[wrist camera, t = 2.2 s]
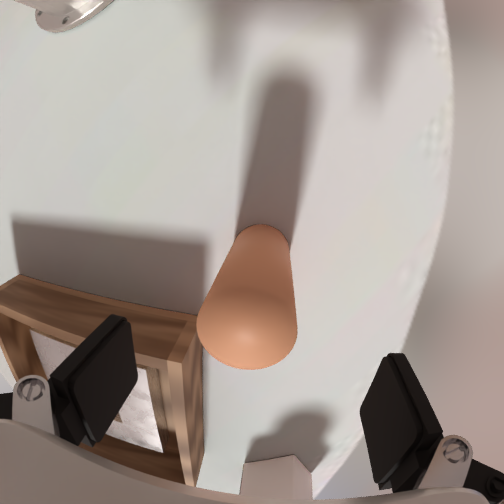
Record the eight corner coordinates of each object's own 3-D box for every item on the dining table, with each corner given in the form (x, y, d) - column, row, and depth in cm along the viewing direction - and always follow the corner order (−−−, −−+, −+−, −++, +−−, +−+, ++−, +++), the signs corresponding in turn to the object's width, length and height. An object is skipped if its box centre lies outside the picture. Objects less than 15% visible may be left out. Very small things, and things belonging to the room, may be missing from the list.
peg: (235, 221, 20) (197, 279, 10) (292, 228, 20) (306, 293, 10) (230, 274, 21) (196, 361, 12) (284, 281, 21) (288, 374, 12)
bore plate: (42, 318, 24) (29, 329, 21) (156, 352, 23) (145, 369, 21) (73, 404, 28) (65, 416, 26) (169, 437, 28) (163, 452, 25)
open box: (19, 274, 24) (-17, 296, 18) (202, 316, 23) (181, 363, 17) (64, 407, 31) (46, 433, 25) (204, 453, 30) (194, 490, 24)
